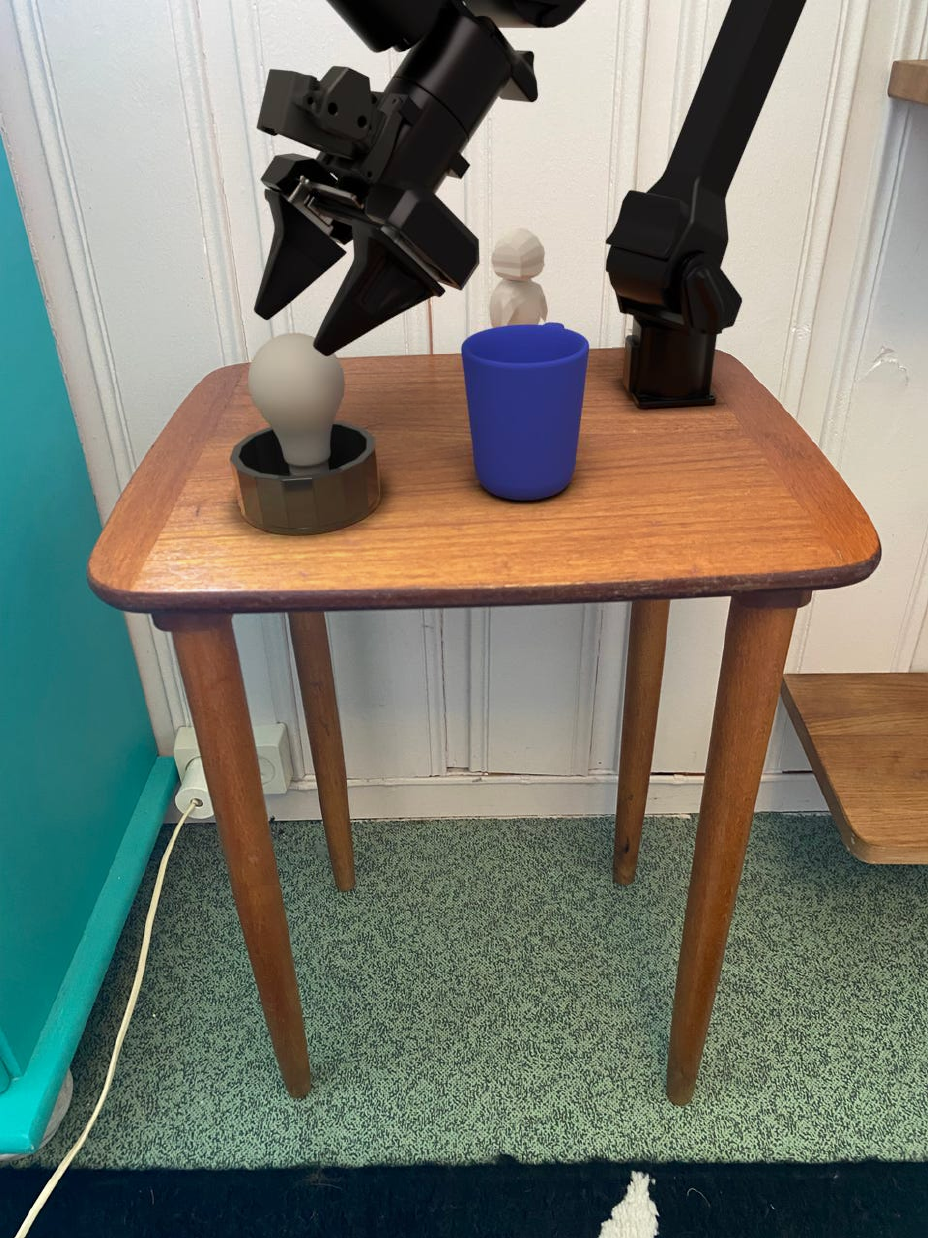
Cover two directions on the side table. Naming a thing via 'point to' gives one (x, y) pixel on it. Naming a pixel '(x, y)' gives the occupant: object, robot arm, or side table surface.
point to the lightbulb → (298, 398)
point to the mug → (525, 406)
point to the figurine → (517, 280)
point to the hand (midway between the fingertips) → (288, 332)
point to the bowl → (306, 483)
